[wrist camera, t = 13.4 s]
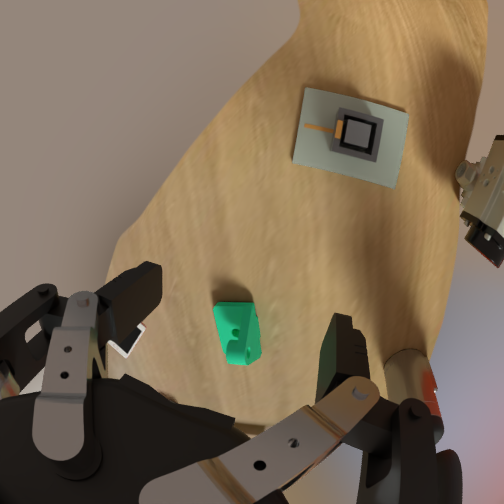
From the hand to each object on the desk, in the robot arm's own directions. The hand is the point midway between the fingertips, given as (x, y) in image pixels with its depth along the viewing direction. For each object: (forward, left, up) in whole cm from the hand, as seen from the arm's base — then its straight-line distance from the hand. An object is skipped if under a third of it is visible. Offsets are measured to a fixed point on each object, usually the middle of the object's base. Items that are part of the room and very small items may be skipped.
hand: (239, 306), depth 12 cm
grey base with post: (-6, -10, -32) cm, 34 cm away
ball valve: (-28, -10, -32) cm, 44 cm away
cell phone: (+36, +43, -33) cm, 65 cm away
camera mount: (+6, +27, -32) cm, 43 cm away
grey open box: (-6, -10, -31) cm, 33 cm away
